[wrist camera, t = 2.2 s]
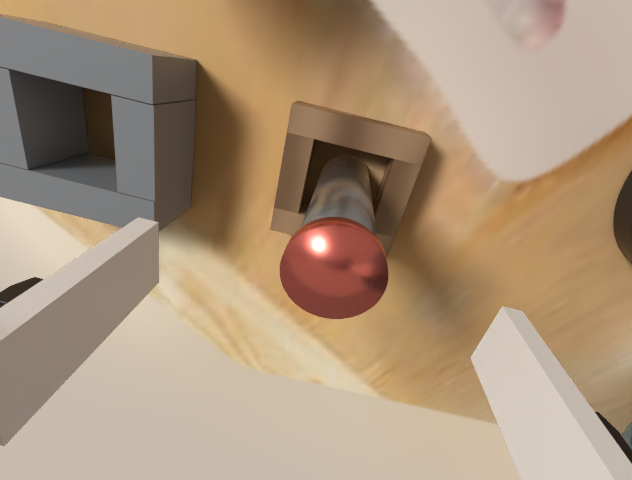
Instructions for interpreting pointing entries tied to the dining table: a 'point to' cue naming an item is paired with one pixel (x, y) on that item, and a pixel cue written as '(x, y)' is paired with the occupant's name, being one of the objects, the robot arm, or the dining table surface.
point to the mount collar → (357, 134)
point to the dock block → (71, 132)
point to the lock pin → (337, 246)
